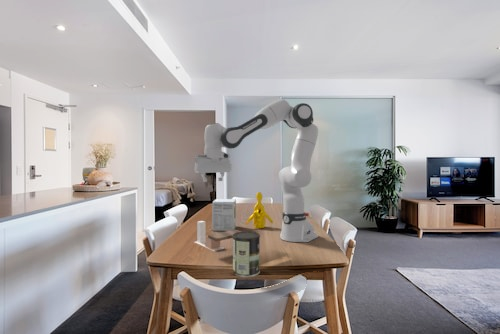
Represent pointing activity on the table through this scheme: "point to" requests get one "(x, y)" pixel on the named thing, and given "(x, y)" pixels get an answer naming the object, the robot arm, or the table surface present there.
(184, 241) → the table surface
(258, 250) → the coffee can
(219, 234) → the shelf
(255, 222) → the figure statuette
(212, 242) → the cube
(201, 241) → the white pillar stand
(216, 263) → the table surface
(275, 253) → the table surface
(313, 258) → the table surface
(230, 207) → the supplement box
